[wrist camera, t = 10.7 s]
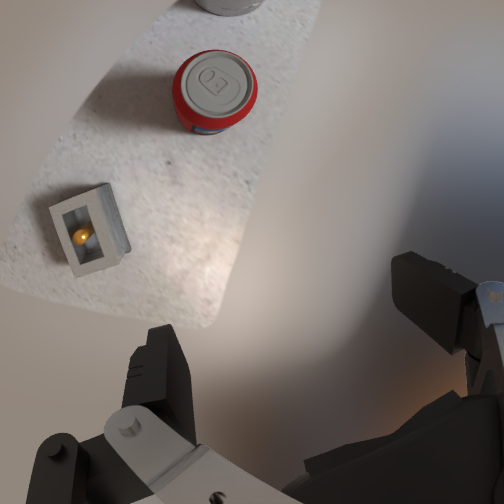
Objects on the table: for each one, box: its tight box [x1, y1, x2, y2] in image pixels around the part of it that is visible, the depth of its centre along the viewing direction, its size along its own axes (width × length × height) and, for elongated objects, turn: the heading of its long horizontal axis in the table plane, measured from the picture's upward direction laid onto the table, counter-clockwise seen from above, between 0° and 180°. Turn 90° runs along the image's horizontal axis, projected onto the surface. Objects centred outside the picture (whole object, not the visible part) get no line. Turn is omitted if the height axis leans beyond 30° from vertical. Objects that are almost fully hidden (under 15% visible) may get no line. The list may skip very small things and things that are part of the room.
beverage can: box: [172, 50, 258, 135], centre depth 27 cm, size 7×7×12 cm
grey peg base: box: [54, 183, 132, 255], centre depth 31 cm, size 8×7×5 cm
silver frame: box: [49, 186, 124, 278], centre depth 31 cm, size 8×5×4 cm
